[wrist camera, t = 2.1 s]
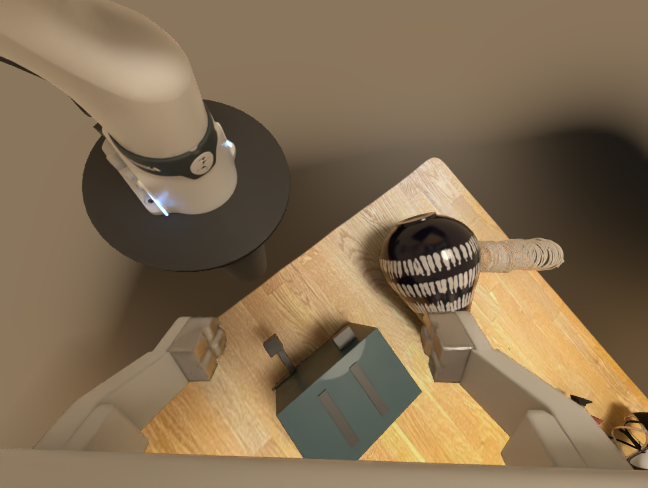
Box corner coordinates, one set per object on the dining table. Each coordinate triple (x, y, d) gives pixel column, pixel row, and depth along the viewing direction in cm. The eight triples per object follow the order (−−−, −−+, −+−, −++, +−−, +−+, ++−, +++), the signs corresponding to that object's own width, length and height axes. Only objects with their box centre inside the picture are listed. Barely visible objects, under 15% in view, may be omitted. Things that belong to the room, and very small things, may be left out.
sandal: (657, 418, 49) (574, 436, 56) (626, 387, 49) (547, 409, 56) (751, 520, 35) (626, 528, 42) (709, 478, 35) (591, 492, 42)
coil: (677, 206, 38) (546, 265, 56) (507, 106, 45) (440, 186, 64) (677, 277, 29) (523, 319, 48) (467, 138, 37) (403, 221, 55)
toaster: (266, 375, 39) (263, 403, 28) (343, 313, 44) (368, 315, 33) (308, 440, 38) (323, 498, 27) (383, 369, 43) (422, 392, 32)
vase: (427, 225, 30) (486, 428, 33) (488, 195, 38) (531, 362, 41) (351, 237, 44) (398, 380, 47) (407, 213, 52) (444, 337, 55)
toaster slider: (264, 338, 39) (262, 345, 33) (275, 330, 40) (275, 335, 33) (287, 374, 39) (290, 388, 32) (298, 365, 39) (303, 377, 33)
